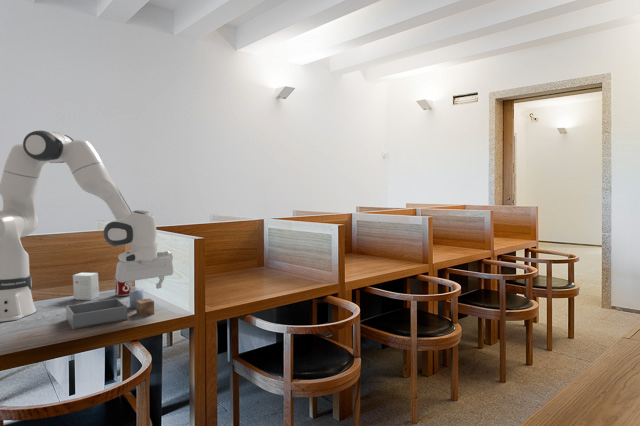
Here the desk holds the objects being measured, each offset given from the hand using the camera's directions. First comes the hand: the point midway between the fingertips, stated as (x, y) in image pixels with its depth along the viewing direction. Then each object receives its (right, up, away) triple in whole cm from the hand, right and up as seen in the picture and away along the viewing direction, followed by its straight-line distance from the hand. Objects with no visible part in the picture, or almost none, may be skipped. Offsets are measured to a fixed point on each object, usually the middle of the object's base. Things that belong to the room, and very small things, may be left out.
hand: (146, 290), depth 164 cm
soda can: (-20, -7, +27) cm, 34 cm away
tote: (-15, -9, -7) cm, 19 cm away
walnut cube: (-1, -9, +1) cm, 9 cm away
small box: (-34, -7, +21) cm, 41 cm away
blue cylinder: (-7, -8, +9) cm, 14 cm away
